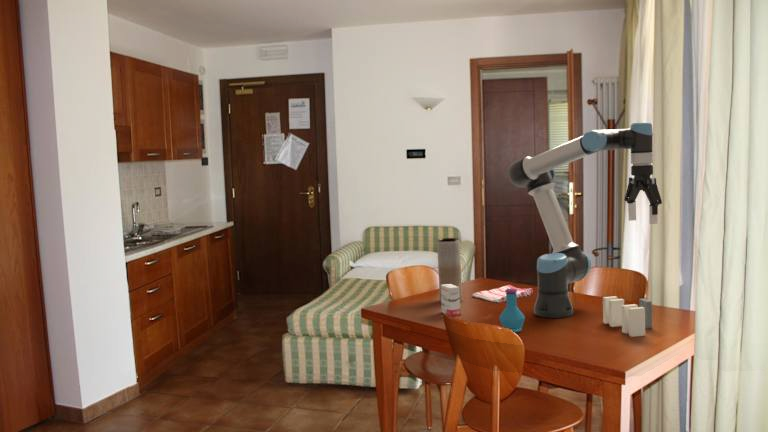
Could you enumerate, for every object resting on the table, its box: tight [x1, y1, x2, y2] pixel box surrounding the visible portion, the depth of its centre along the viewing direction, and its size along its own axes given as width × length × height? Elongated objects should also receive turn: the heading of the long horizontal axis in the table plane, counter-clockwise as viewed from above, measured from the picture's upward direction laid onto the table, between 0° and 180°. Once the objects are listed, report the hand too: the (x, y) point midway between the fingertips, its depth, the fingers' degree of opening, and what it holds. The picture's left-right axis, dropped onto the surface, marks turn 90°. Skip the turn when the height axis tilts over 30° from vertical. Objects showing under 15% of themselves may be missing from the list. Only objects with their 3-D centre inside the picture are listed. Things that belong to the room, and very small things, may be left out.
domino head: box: [602, 295, 619, 325], centre depth 240 cm, size 2×5×10 cm, turn 99°
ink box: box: [440, 284, 462, 317], centre depth 266 cm, size 8×5×12 cm, turn 20°
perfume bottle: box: [498, 288, 526, 333], centre depth 238 cm, size 9×9×15 cm
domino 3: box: [638, 298, 653, 329], centre depth 233 cm, size 2×5×10 cm, turn 10°
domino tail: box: [628, 306, 646, 338], centre depth 223 cm, size 2×5×10 cm, turn 99°
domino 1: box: [609, 298, 625, 328], centre depth 236 cm, size 2×5×10 cm, turn 99°
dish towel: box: [471, 284, 534, 304], centre depth 294 cm, size 17×23×4 cm
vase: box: [436, 237, 463, 303], centre depth 287 cm, size 10×10×28 cm
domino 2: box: [621, 303, 639, 334], centre depth 227 cm, size 2×5×10 cm, turn 99°
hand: (642, 222), depth 240 cm, fingers open, 13 cm apart
